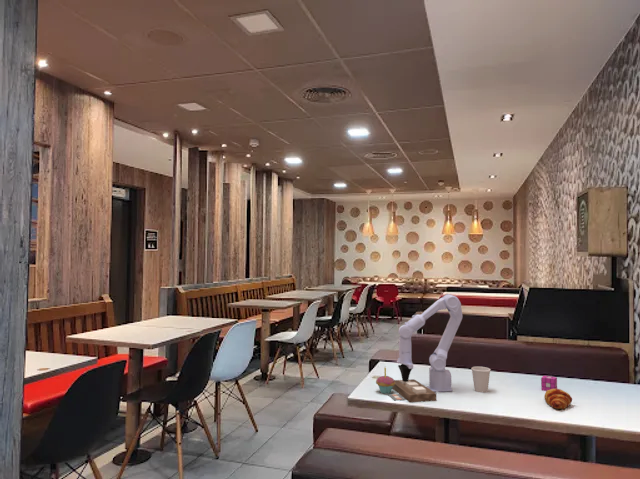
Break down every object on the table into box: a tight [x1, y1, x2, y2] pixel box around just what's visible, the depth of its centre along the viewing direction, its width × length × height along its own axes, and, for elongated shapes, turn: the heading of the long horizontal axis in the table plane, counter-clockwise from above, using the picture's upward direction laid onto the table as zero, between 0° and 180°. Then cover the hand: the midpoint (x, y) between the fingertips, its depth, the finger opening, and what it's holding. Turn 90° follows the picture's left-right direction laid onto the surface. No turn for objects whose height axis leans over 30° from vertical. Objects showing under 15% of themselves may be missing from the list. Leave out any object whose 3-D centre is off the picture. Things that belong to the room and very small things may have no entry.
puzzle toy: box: [540, 375, 558, 392], centre depth 211 cm, size 6×6×6 cm
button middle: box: [406, 382, 419, 388], centre depth 204 cm, size 4×4×3 cm
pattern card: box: [387, 393, 407, 402], centre depth 197 cm, size 5×8×1 cm, turn 11°
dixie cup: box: [470, 366, 492, 393], centre depth 209 cm, size 8×8×10 cm
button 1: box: [398, 379, 411, 384], centre depth 212 cm, size 4×4×3 cm
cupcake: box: [375, 367, 395, 395], centre depth 206 cm, size 9×8×12 cm
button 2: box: [412, 387, 426, 394], centre depth 196 cm, size 4×4×3 cm
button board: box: [392, 378, 437, 403], centre depth 204 cm, size 12×24×3 cm, turn 11°
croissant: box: [543, 388, 573, 410], centre depth 190 cm, size 21×10×8 cm, turn 154°
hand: (405, 381), depth 212 cm, fingers closed, pressing on button 1
